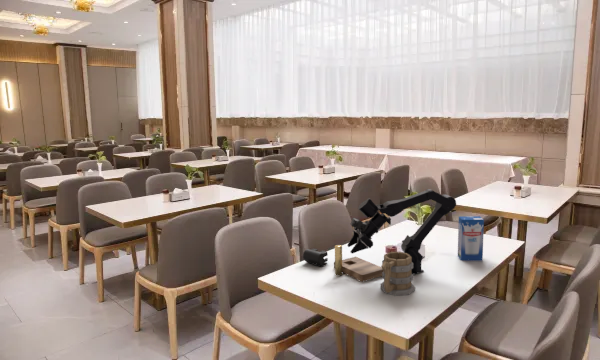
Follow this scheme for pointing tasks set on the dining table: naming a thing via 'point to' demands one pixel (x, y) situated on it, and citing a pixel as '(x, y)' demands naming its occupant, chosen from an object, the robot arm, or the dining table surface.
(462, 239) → the milk carton
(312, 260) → the end cap
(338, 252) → the peg
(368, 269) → the hole block
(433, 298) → the dining table surface
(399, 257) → the tankard
